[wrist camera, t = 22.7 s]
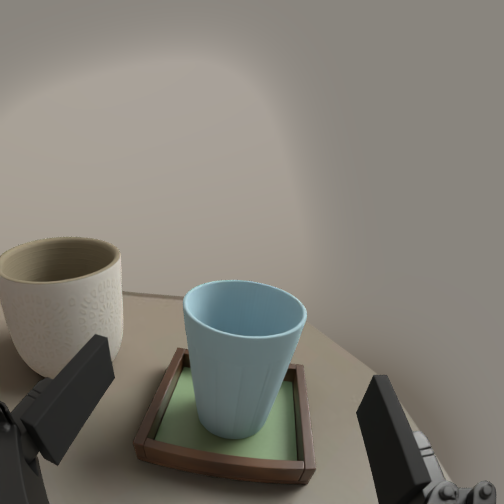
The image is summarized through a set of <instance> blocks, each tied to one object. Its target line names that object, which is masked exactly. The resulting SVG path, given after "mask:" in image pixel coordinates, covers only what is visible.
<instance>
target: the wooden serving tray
mask: <svg viewBox="0 0 504 504" xmlns="http://www.w3.org/2000/svg"><path fill="white" fill-rule="evenodd" d="M133 445H134V448H135V452H136V455H137V459H140V460H143V461H146V462H150V463H154V464H157V465H161V466H165V467H169V468H173V469H177V470H182V471H186V472H191V473H196V474H201V475H207V476H213V477H219V478H226V479H234V480H242V481H252V482H264V483H281V484H308V482H309V480H310V479H311V477H312V475H313V474H314V472H315V470H316V464H315V454H314V445H313V436H312V428H311V419H310V411H309V403H308V395H307V388H306V380H305V373H304V366H303V365H299V364H296V365H295V364H289V367H288V369H287V372H286V374H285V377H284V379H283V382H282V384H281V387H280V389H279V392H278V394H277V396H276V399H275V401H274V404H273V406H272V408H271V410H270V413H269V415H268V417H267V420H266V422H265V424H264V425H263V427H262V428H261V429H260V430H259V431H258V432H257V433H256V434H254V435H252V436H249V437H246V438H243V439H226V438H222V437H219V436H217V435H214V434H212V433H211V432H209V431H208V430H207V429H206V428H205V427H204V426H203V425H202V424H201V422H200V420H199V417H198V412H197V407H196V401H195V394H194V388H193V381H192V374H191V366H190V359H189V351H188V349H183V348H177V350H176V352H175V354H174V356H173V358H172V360H171V362H170V364H169V367H168V369H167V371H166V373H165V375H164V377H163V379H162V381H161V383H160V385H159V387H158V389H157V392H156V394H155V396H154V398H153V400H152V402H151V404H150V406H149V408H148V411H147V413H146V415H145V417H144V419H143V421H142V423H141V426H140V428H139V430H138V432H137V434H136V436H135V439H134V441H133Z"/></svg>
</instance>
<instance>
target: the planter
mask: <svg viewBox="0 0 504 504" xmlns="http://www.w3.org/2000/svg"><path fill="white" fill-rule="evenodd" d="M121 284H122V283H121V254H120V251H119V250H118V249H117V247H115V246H114V245H112V244H110V243H107V242H105V241H101V240H97V239H92V238H82V237H57V238H47V239H41V240H36V241H31V242H28V243H25V244H21V245H18V246H16V247H13V248H11V249H9V250H8V251H6V252H4V253H3V254H2V255H1V256H0V300H1V304H2V308H3V312H4V316H5V320H6V323H7V326H8V329H9V332H10V335H11V338H12V341H13V343H14V345H15V347H16V349H17V351H18V353H19V354H20V356H21V357H22V359H23V360H24V361H25V363H26V364H27V365H28V366H29V367H30V368H31V369H33V370H34V371H35V372H37V373H38V374H40V375H42V376H44V377H49V378H51V379H54V378H55V377H56V376H57V375H58V374H59V372H60V371H61V370H62V369H63V368H64V367H65V366H66V365H67V364H68V362H69V361H70V360H71V359H72V358H73V357H74V356H75V355H76V354H77V353H78V352H79V351H80V349H81V348H82V347H83V346H84V345H85V344H86V343H87V342H88V341H89V340H90V339H91V338H92V337H93V336H94V335H95V334H98V335H101V336H105V337H108V342H109V349H110V355H111V361H113V360H114V358H115V357H116V355H117V353H118V351H119V348H120V345H121V341H122V336H123V301H122V285H121Z"/></svg>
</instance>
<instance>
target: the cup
mask: <svg viewBox="0 0 504 504" xmlns="http://www.w3.org/2000/svg"><path fill="white" fill-rule="evenodd" d="M183 311H184V321H185V330H186V335H187V343H188V351H189V359H190V366H191V374H192V381H193V388H194V394H195V401H196V407H197V412H198V417H199V420H200V422H201V424H202V425H203V426H204V427H205V428H206V429H207V430H208V431H209V432H211V433H212V434H214V435H217V436H219V437H222V438H226V439H243V438H246V437H249V436H252V435H254V434H256V433H257V432H258V431H259V430H260V429H261V428H262V427H263V425H264V424H265V422H266V420H267V417H268V415H269V413H270V410H271V408H272V406H273V404H274V401H275V399H276V396H277V394H278V392H279V389H280V387H281V384H282V382H283V379H284V377H285V374H286V372H287V369H288V367H289V364H290V361H291V359H292V356H293V354H294V351H295V348H296V346H297V343H298V341H299V338H300V335H301V332H302V330H303V327H304V324H305V321H306V318H307V313H306V309H305V307H304V306H303V304H302V303H301V302H300V301H299V300H298V299H297V298H295V297H294V296H293V295H291V294H289V293H287V292H285V291H283V290H281V289H279V288H276V287H273V286H270V285H266V284H262V283H258V282H252V281H242V280H221V281H213V282H208V283H204V284H201V285H199V286H197V287H195V288H193V289H191V290H190V291H189V292H188V293H187V294H186V295H185V297H184V300H183Z"/></svg>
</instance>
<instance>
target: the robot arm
mask: <svg viewBox="0 0 504 504" xmlns="http://www.w3.org/2000/svg"><path fill="white" fill-rule="evenodd" d="M114 378H115V377H114V372H113V366H112V361H111V355H110V349H109V342H108V337H105V336H101V335H98V334H95V335H94V336H93V337H92V338H91V339H90V340H89V341H88V342H87V343H86V344H85V345H84V346H83V347H82V348H81V349H80V351H79V352H78V353H77V354H76V355H75V356H74V357H73V358H72V359H71V360H70V361H69V362H68V364H67V365H66V366H65V367H64V368H63V369H62V370H61V371H60V372H59V374H58V375H57V376H56V377H55V378H54V379H51V378H49V377H46V378H45V379H43V380H41V381H39V382H38V383H37V384H36V385H35V386H34V387H33V388H32V390H31V391H30V392H29V393H28V395H26V396H25V397H24V398H23V399H22V401H21V402H20V403H19V404H18V405H17V406H16V407H15V409H14V410H13V411H12V412H11V413H10V411H9V409H8V407H7V406H6V405H5V403H3V402H1V401H0V504H49V501H48V498H47V494H46V490H45V487H44V483H43V479H42V474H41V470H40V465H39V460H38V458H37V454H38V452H39V451H40V453H41V454H42V456H43V457H44V458H45V459H46V460H48V461H50V462H52V463H54V464H55V465H57V466H58V465H59V463H60V461H61V460H62V458H63V457H64V455H65V453H66V452H67V450H68V449H69V447H70V445H71V444H72V442H73V441H74V439H75V437H76V436H77V434H78V433H79V431H80V430H81V428H82V427H83V425H84V423H85V422H86V420H87V419H88V417H89V416H90V414H91V413H92V411H93V410H94V408H95V407H96V405H97V404H98V402H99V401H100V399H101V398H102V396H103V395H104V393H105V392H106V390H107V389H108V387H109V386H110V384H111V383H112V381H113V380H114ZM356 414H357V418H358V421H359V425H360V429H361V432H362V436H363V440H364V444H365V448H366V451H367V455H368V459H369V463H370V467H371V471H372V476H373V480H374V484H375V488H376V493H377V497H378V502H379V504H496V489H495V487H494V485H493V484H492V483H490V482H488V481H481V482H479V483H478V484H477V485H475V486H474V487H473V488H458V487H457V486H456V485H455V484H454V483H452V482H450V481H446V480H445V478H444V475H443V473H442V470H441V468H440V466H439V463H438V461H437V458H436V456H435V455H434V451H433V449H432V448H431V445H430V443H429V440H428V438H427V437H426V436H425V435H424V434H423V433H422V432H421V431H415V432H412V430H411V427H410V425H409V423H408V420H407V418H406V416H405V413H404V411H403V409H402V407H401V404H400V402H399V400H398V398H397V396H396V394H395V391H394V389H393V387H392V385H391V383H390V380H389V378H388V376H387V375H373V377H372V380H371V382H370V384H369V386H368V389H367V391H366V393H365V395H364V397H363V399H362V402H361V404H360V406H359V408H358V410H357V412H356Z"/></svg>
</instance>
